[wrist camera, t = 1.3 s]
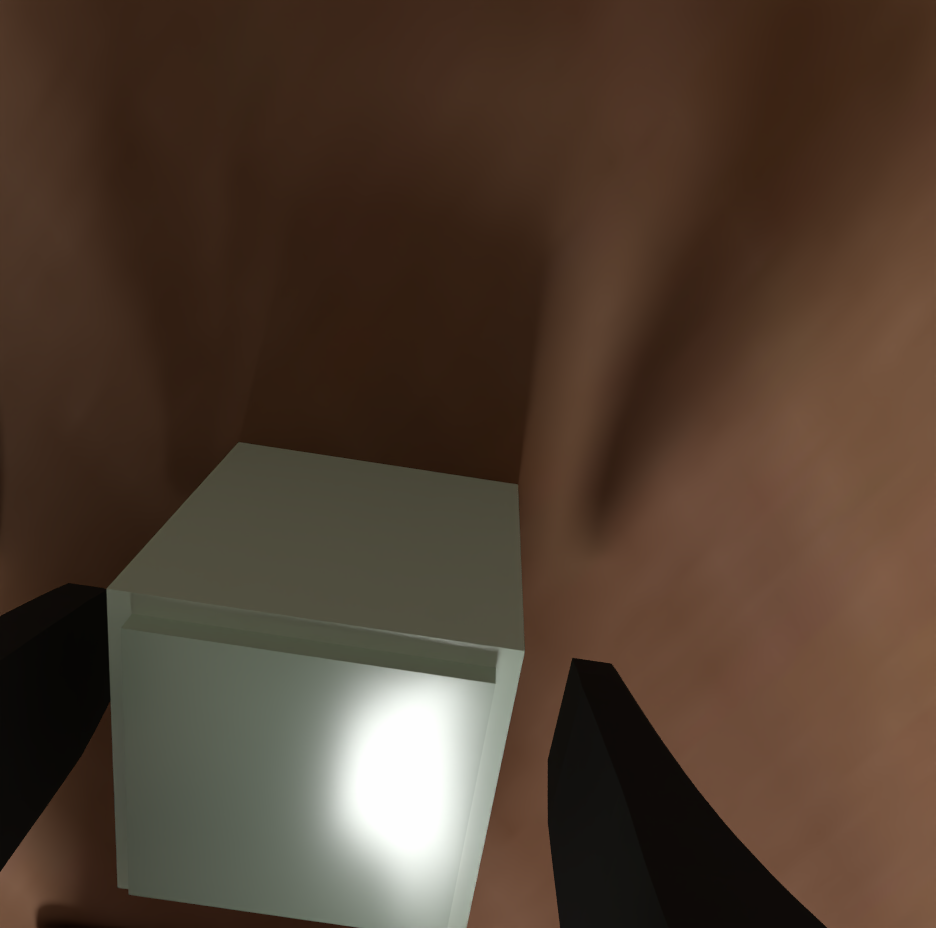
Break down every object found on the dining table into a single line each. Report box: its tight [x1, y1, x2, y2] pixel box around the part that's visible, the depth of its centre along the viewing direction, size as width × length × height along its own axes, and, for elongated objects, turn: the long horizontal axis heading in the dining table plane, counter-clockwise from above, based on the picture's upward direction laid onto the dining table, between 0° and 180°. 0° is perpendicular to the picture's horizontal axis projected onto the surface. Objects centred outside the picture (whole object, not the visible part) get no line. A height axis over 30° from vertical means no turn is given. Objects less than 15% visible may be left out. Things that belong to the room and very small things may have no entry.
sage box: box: [107, 442, 525, 928], centre depth 12 cm, size 5×5×5 cm
